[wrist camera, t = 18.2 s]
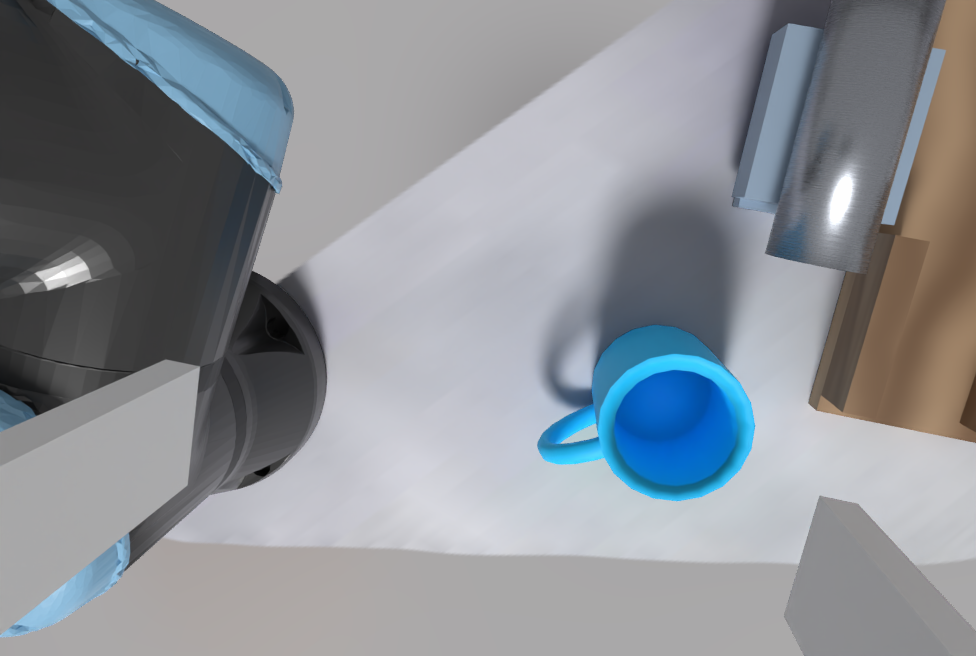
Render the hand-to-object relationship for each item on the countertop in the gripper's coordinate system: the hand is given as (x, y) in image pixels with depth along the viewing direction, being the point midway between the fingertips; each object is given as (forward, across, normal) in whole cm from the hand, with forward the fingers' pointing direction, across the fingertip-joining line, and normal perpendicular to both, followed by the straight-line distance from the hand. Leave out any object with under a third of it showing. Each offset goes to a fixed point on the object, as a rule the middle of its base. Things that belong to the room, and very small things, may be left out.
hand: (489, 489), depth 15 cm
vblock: (+32, +14, +12) cm, 37 cm away
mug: (+32, +7, -6) cm, 33 cm away
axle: (+28, +15, +12) cm, 34 cm away
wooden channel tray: (+32, +23, +7) cm, 40 cm away
